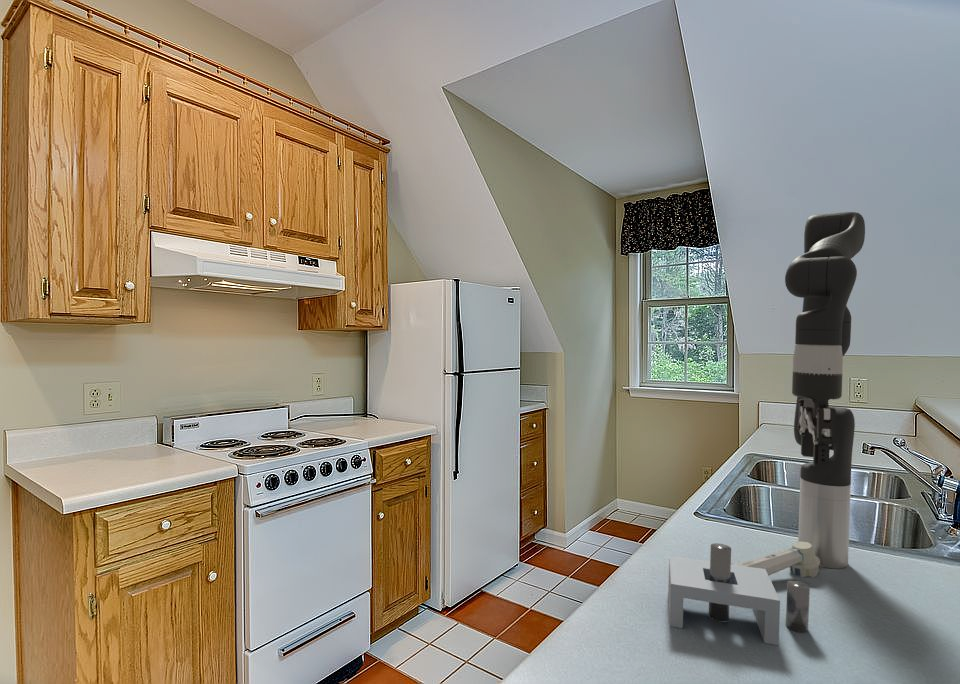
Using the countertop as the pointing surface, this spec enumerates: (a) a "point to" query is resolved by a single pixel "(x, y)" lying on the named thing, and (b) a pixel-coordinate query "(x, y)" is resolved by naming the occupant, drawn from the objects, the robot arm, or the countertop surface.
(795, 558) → the beige toy mallet
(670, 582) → the bridge
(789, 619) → the short pin
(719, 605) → the tall pin
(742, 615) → the countertop surface
